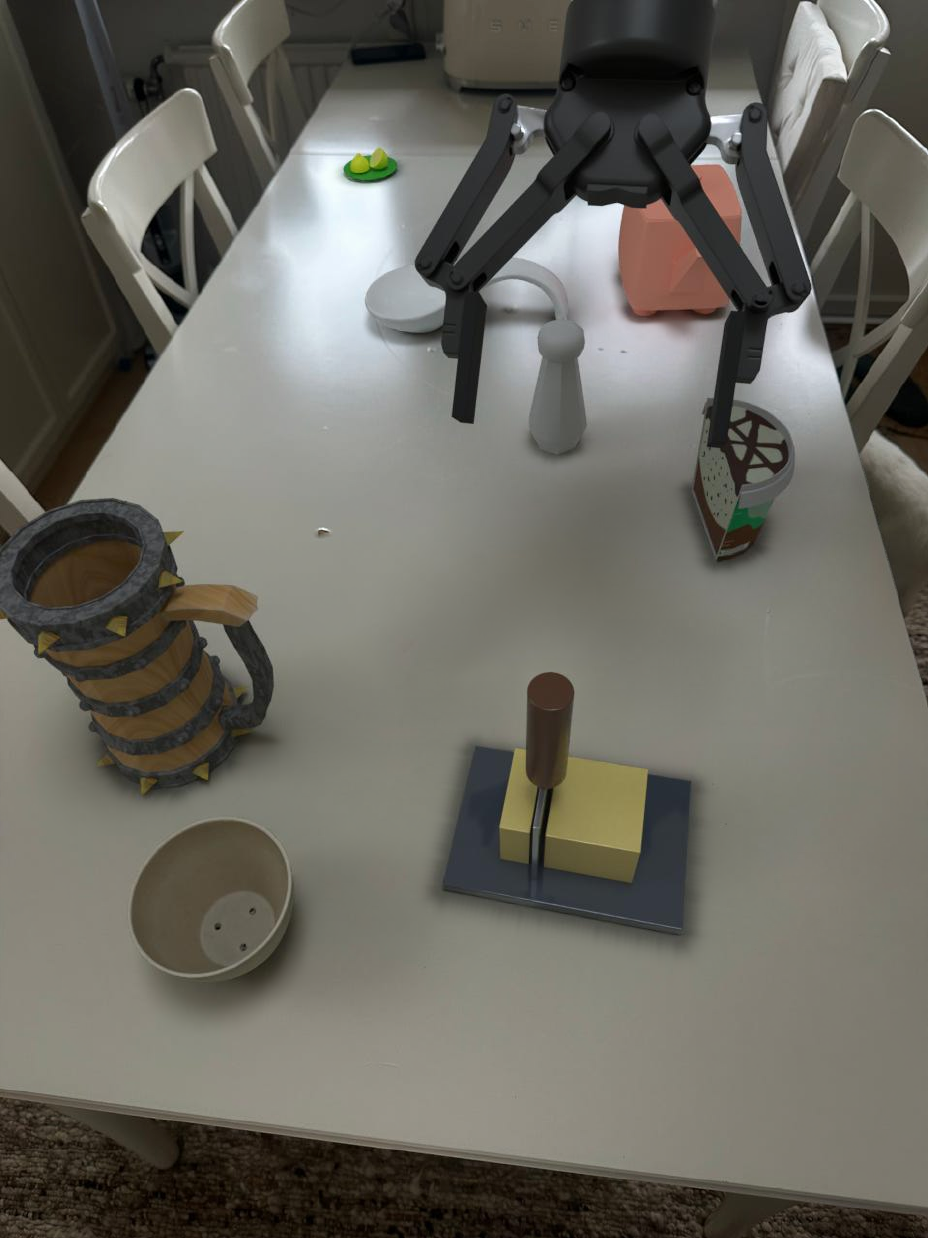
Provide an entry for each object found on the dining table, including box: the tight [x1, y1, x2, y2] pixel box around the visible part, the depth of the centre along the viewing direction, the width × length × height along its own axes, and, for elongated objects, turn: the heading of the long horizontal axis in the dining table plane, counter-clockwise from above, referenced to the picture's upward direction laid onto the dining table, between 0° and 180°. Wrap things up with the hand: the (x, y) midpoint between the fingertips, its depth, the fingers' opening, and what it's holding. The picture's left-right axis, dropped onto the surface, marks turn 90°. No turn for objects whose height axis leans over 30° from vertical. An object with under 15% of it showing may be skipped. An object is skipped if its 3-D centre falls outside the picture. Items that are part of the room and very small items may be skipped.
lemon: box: [343, 147, 398, 181], centre depth 127 cm, size 8×8×3 cm
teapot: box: [617, 163, 743, 317], centre depth 98 cm, size 22×13×14 cm, turn 0°
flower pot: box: [126, 815, 294, 983], centre depth 55 cm, size 10×10×7 cm
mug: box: [0, 497, 275, 796], centre depth 60 cm, size 13×17×20 cm
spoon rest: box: [364, 256, 569, 334], centre depth 100 cm, size 24×12×7 cm, turn 84°
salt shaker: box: [528, 319, 588, 455], centre depth 83 cm, size 6×6×13 cm
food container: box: [691, 397, 796, 563], centre depth 76 cm, size 12×6×10 cm, turn 4°
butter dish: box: [442, 745, 692, 936], centre depth 59 cm, size 16×11×6 cm
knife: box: [525, 671, 575, 880], centre depth 54 cm, size 3×8×17 cm, turn 168°
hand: (586, 433), depth 46 cm, fingers open, 13 cm apart
